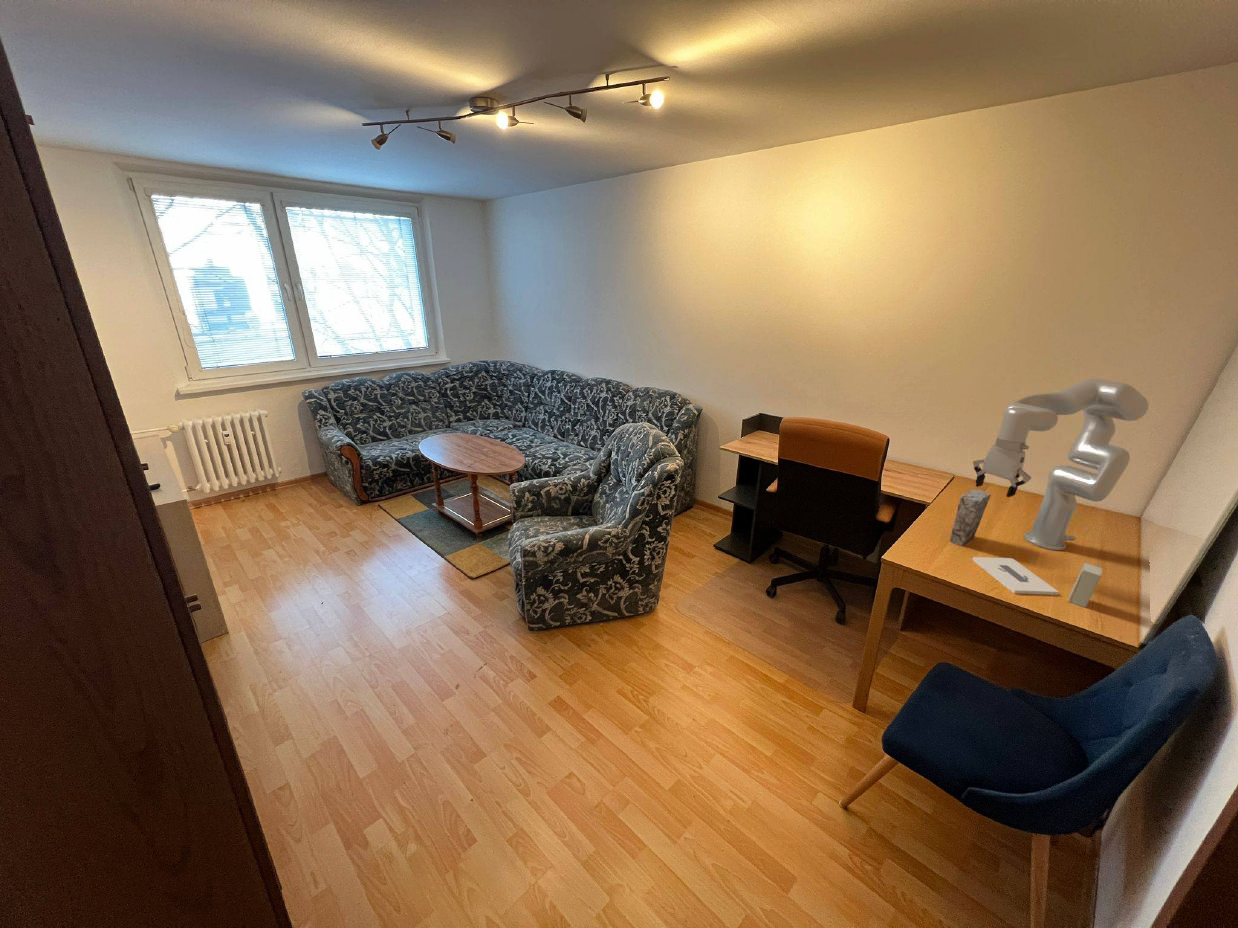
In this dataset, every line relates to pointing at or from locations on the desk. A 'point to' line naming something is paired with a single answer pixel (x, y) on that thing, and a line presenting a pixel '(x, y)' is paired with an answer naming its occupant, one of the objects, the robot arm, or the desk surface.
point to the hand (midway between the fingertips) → (993, 491)
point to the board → (1014, 576)
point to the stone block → (969, 516)
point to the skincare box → (1085, 585)
